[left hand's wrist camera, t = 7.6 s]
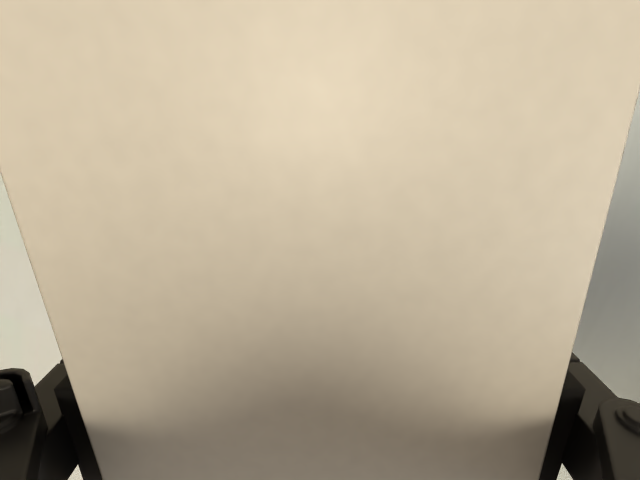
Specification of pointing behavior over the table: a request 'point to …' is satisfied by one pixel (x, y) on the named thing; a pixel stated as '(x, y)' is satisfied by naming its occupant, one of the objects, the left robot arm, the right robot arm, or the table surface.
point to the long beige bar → (315, 223)
